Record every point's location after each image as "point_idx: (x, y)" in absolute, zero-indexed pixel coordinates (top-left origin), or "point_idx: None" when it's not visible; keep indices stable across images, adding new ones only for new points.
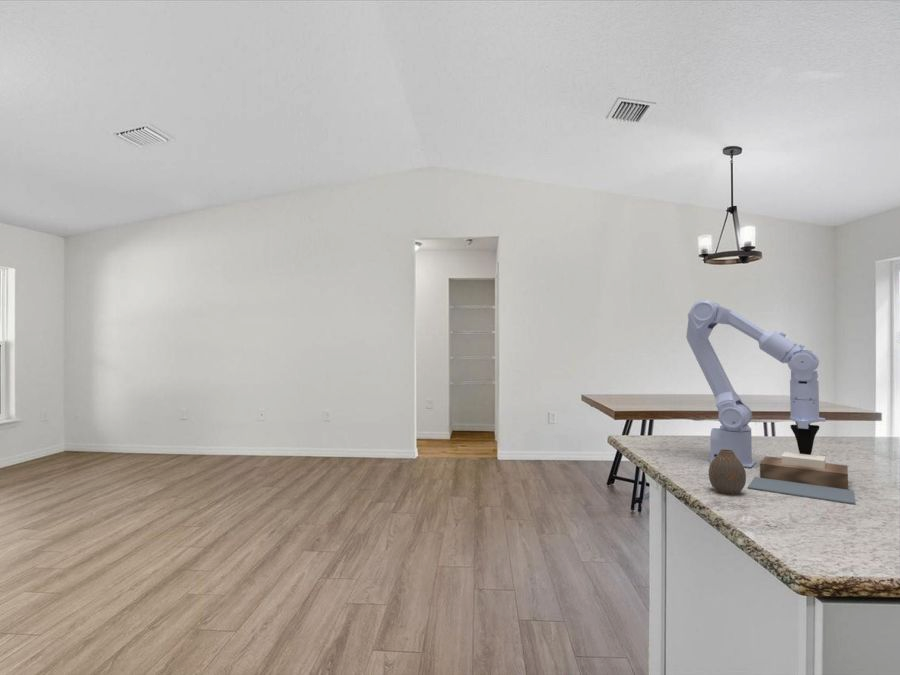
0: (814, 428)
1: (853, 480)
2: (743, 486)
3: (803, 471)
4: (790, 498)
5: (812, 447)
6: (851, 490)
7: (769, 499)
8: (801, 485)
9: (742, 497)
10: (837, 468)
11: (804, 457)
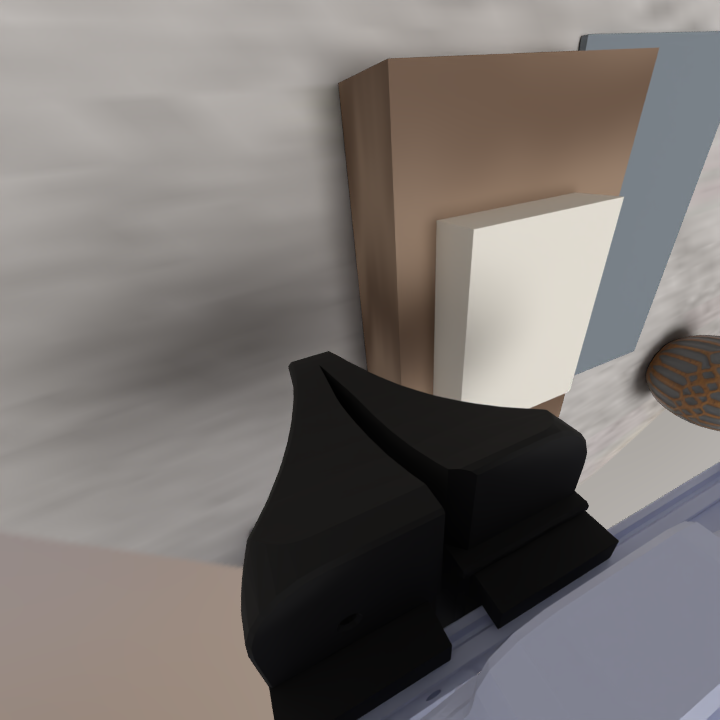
0: (564, 467)
1: (285, 43)
2: (709, 335)
3: None
4: (695, 236)
5: (342, 373)
6: (591, 49)
7: (706, 272)
8: None
9: (697, 320)
10: (535, 125)
11: (563, 312)
